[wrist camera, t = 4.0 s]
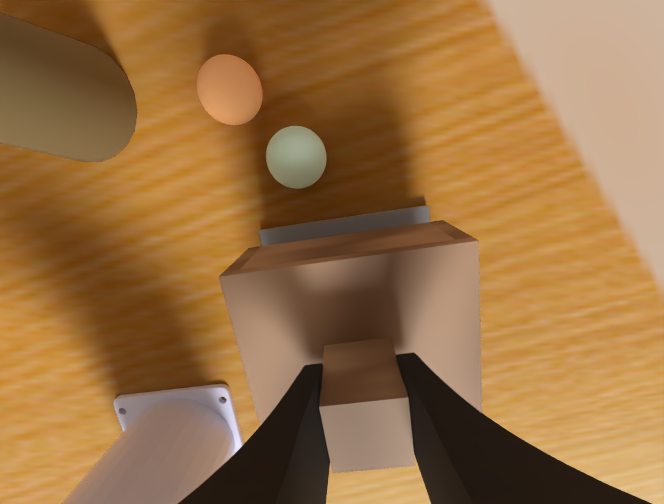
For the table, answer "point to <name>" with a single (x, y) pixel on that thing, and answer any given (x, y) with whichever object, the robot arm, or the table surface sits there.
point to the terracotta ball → (229, 89)
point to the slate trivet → (345, 225)
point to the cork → (61, 95)
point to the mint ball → (296, 157)
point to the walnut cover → (359, 329)
